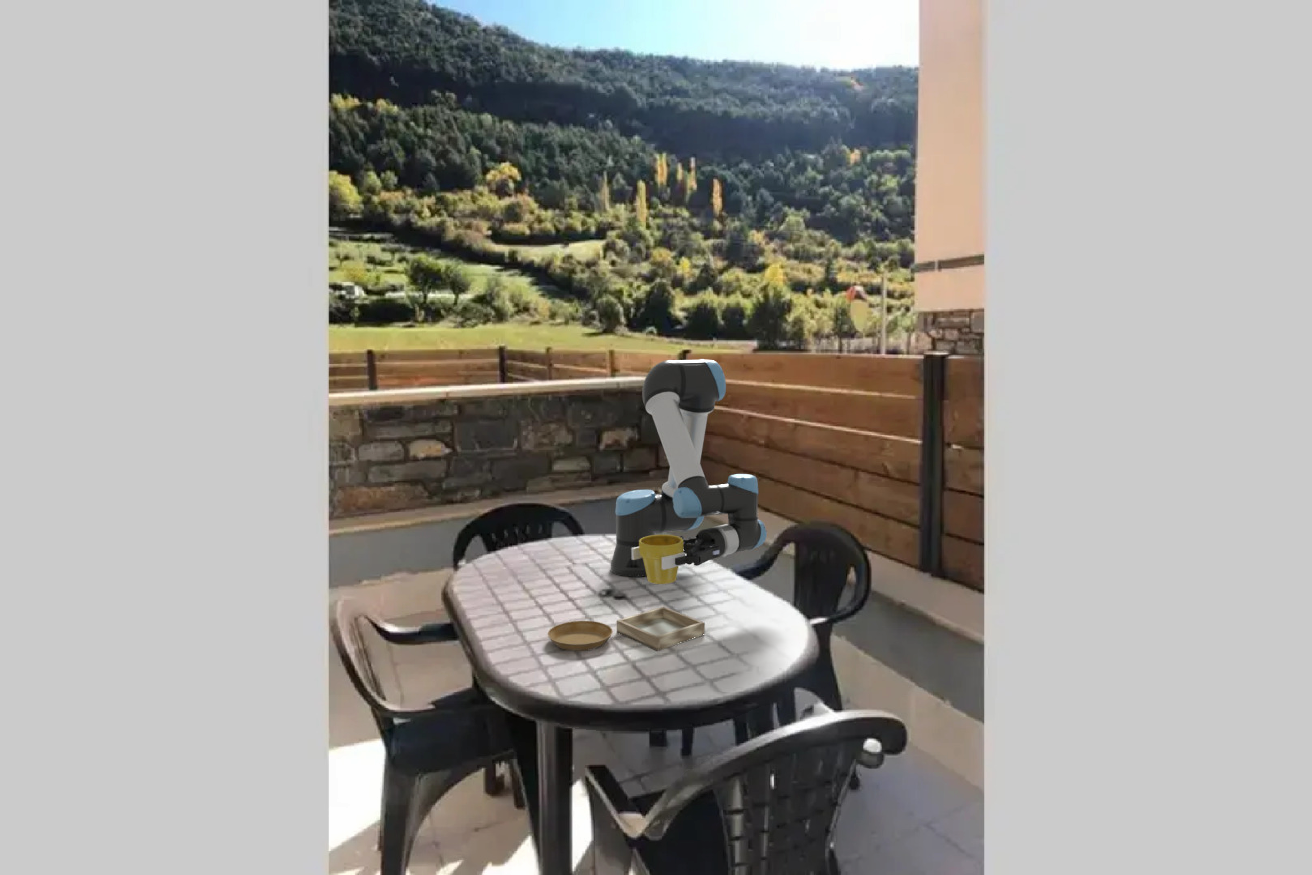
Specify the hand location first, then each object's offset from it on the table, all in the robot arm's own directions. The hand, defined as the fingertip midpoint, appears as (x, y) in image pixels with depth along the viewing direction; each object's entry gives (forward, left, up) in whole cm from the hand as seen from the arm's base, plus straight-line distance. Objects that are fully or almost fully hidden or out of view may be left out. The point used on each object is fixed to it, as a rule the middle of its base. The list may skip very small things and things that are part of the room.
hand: (647, 558), depth 184 cm
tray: (-3, +1, -19) cm, 19 cm away
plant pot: (-4, 0, -6) cm, 8 cm away
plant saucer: (+14, -7, -19) cm, 25 cm away
